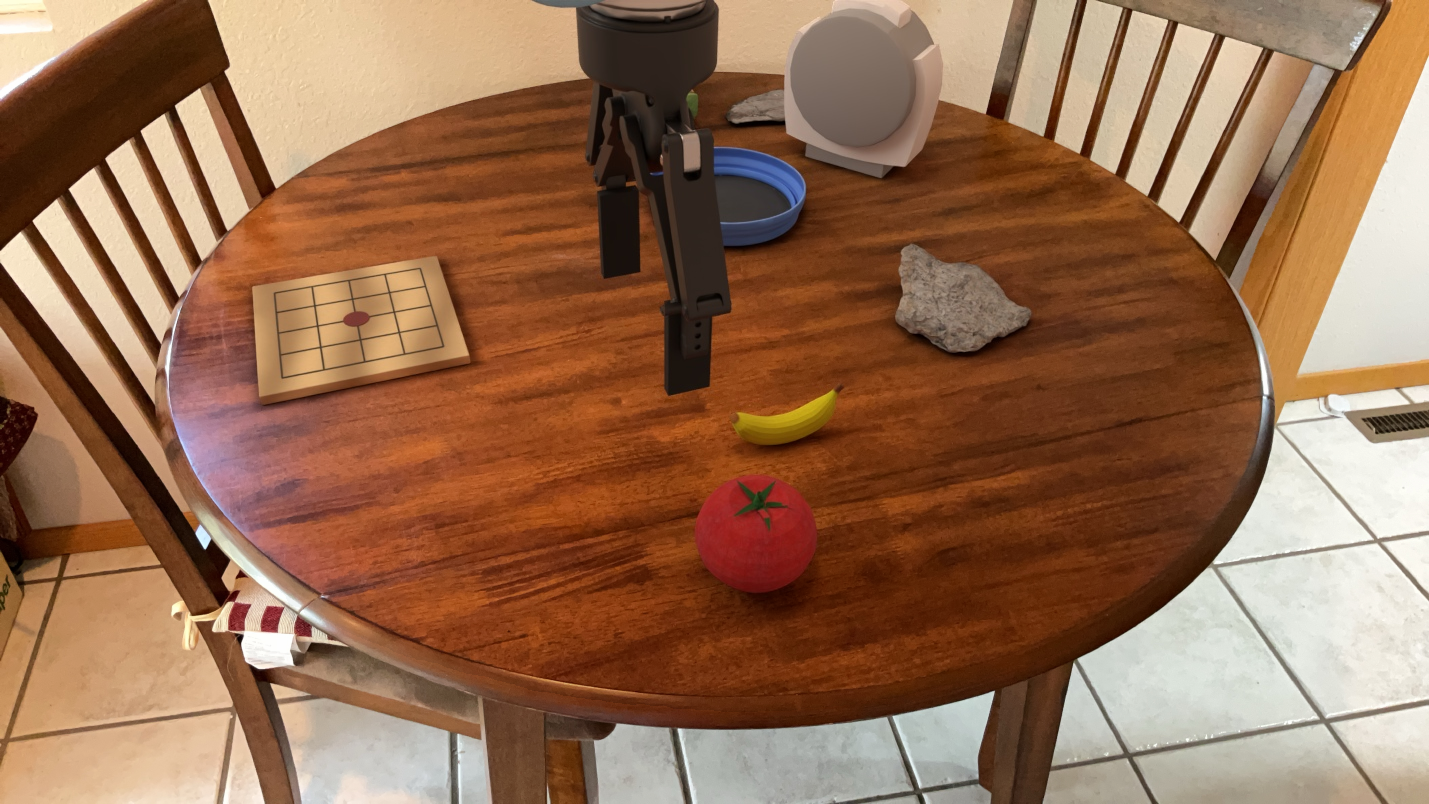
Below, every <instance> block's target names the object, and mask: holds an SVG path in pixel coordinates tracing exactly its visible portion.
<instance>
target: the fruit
mask: <svg viewBox="0 0 1429 804" xmlns="http://www.w3.org/2000/svg"><path fill="white" fill-rule="evenodd" d="M844 389H845V385H844V383H842V382H837V383H836V385H835V386H834V387H833V388H832V389H831V390H830V391H829V392H827V393H826V394H824V395H821V396H819V397H817V398H815V399H812V400H811V401H809V402H808V403H806V404H804V405H802V406H800V407H798V408H796V409H793V410H791V411H789V412H784V413H781V414H775V415H769V416H765V415H764V416H763V415H755V414H750V413H746V412H741V411H739V412H738V411H737V412H732V413H731V414H729V420H730V423H731V426H732V428H733V429H734V431H735V433H736V434H737V435H738V437H739V438H740V439H742V440H743V441H745V442H747V443H751V444H755V445H761V446H774V445H782V444H783V445H784V444H788V443H791V442H795V441H798V440H800V439H803V438H805V437H808V436H809V435H811V434H813V433H815V432H817V431H819V430H820V429H821V428H822V427H824V426H825V425H826V424H827V423H829V421H830V420H831V419H832V416H833V415H834V412H835V409H836V405H837V398H838V395H839V394H840V393H841V392H842V391H843V390H844Z"/></svg>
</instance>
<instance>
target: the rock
mask: <svg viewBox="0 0 1429 804" xmlns="http://www.w3.org/2000/svg"><path fill="white" fill-rule="evenodd" d="M900 255H901V256H900V265H899V267H898V274H899V277H900V279H901V280H900V286H901V289H902V296H901V298H900V301H899V303H898V304H899V305H898V307H897V309H896V312H895V316H894V318H895V322H896V323H897V324H898V325H899V326H900V327H902V328H904V329H906V331H907V332H908V333H910V334H913V335H921V336H924V337H925V338H927V339H928V340H929V341H930V342H931V343H932V344H933V345H935V346H936V347H938V348H939V349H943V350H945V351H946V352H947V353H953V354H955V353H959V352H962V353H965V352H966V353H967V352H976V351H978V350H980V349H981V348H983V347H985V345H986V344H988V343H991V342H992V340H993V339H994V338H995V339H996V338H997V337H999V338H1005V337H1006V336H1008V335H1009V334H1011V333H1013V332H1015V331H1017V330H1019V329H1021V328H1023V327H1026V326H1027V324H1028V322H1029V320H1030V319H1031V316H1032V310H1031V309H1030V307H1027V306H1022V305H1018V304H1017V303H1015V302H1014V301H1013V300H1011V299H1009V298H1008V297H1007V296H1006V293H1005V291H1004V290H1003V289H1002V288H1001V286H1000V284H999V283H998V282H996V281H995V279H994V278H993V277H992V276H990V275H989V274H988V273H987V272H986V271H984V269H982V267H980V265H979V264H970V263H968V262H964V261H958V262H956V263H955V262H953V263H948V262H944V261H942V260H940V259H938V258H936V256H934V255H933V254H931V253H929V252H927V251H926V249H924V248H922V247H920V246H918V245H917V244H914V243H910V244H909V245H907V246H904V247H903V248H902V249H901V250H900Z"/></svg>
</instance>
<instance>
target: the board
mask: <svg viewBox="0 0 1429 804" xmlns="http://www.w3.org/2000/svg"><path fill="white" fill-rule="evenodd" d="M251 290H252V291H251V292H252V305H253V306H252V307H253V321H254V339H255V340H254V341H255V354H256V370H257V371H256V372H257V387H258V398H259V401H260V404H261V405H262V406H265V405H270V404H275V403H280V402H284V401H291V400H295V399H300V398H304V397H311V396H314V395H320V394H325V393H330V392H335V391H339V390H340V391H341V390H344V389H350V388H354V387H355V388H356V387H359V386H365V385H369V384H374V383H381V382H384V381H391V380H393V379H399V378H403V377H409V376H414V375H419V374H424V373H429V372H435V371H438V370H445V369H448V368H455V367H459V366H463V365H464V366H465V365H469V364H471V357H470V352H469V349H468V347H467V343H466V340H465V337H464V335H463V332H462V328H461V326H460V322H459V319H458V316H457V313H456V310H455V307H454V304H453V301H452V298H451V295H450V292H449V289H448V286H447V282H446V280H445V275H444V273H443V270H442V267H441V264H440V261H439V258H438V256H437V255H432V256H425V257H420V258H414V259H408V260H402V261H395V262H390V263H383V264H379V265H373V266H366V267H360V268H354V269H349V270H342V271H336V272H329V273H324V274H319V275H318V274H317V275H311V276H307V277H300V278H295V279H288V280H282V281H276V282H271V283H264V284H259V285H258V284H257V285H252V287H251Z"/></svg>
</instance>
